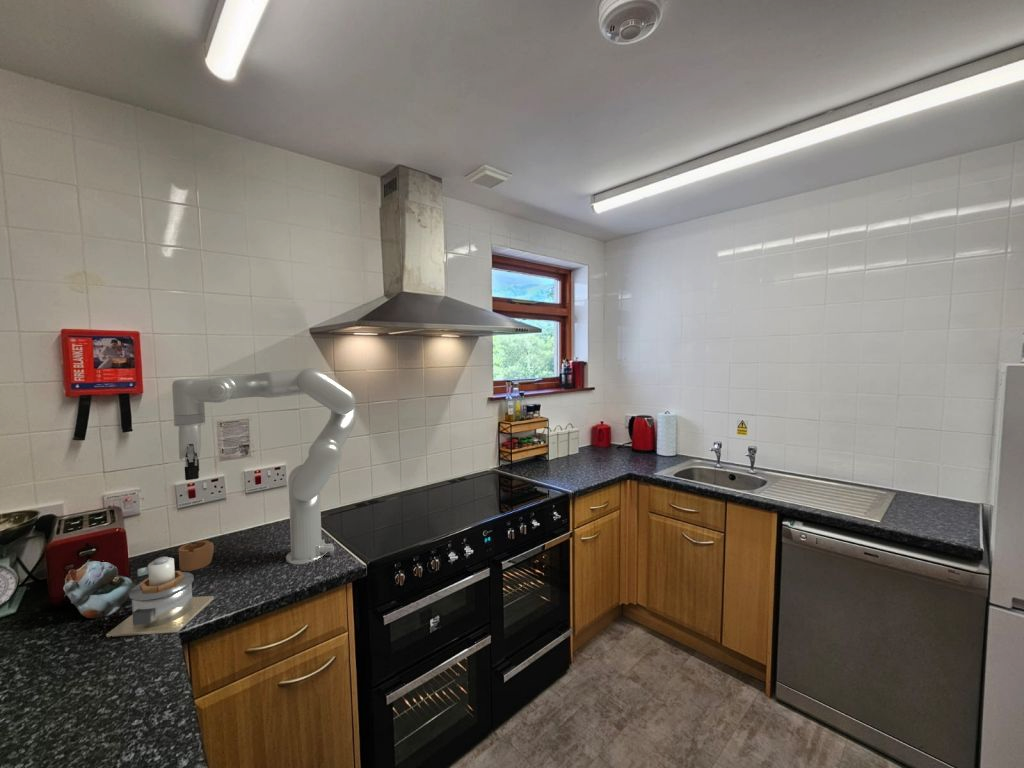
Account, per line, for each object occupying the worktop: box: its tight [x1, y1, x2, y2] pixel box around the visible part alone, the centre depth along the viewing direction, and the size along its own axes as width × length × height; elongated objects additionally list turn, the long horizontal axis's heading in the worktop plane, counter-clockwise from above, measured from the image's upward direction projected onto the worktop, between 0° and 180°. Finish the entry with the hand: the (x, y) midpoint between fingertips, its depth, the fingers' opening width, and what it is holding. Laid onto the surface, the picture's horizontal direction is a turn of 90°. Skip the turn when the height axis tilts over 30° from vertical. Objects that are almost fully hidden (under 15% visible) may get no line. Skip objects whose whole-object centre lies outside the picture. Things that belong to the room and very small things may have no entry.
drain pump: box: [137, 556, 176, 586], centre depth 110 cm, size 7×5×7 cm
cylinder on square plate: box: [105, 570, 215, 638], centre depth 111 cm, size 16×15×10 cm
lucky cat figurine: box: [63, 558, 135, 619], centre depth 115 cm, size 15×12×14 cm
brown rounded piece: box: [178, 539, 215, 572], centre depth 143 cm, size 18×8×7 cm, turn 31°
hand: (192, 475), depth 129 cm, fingers open, 9 cm apart
